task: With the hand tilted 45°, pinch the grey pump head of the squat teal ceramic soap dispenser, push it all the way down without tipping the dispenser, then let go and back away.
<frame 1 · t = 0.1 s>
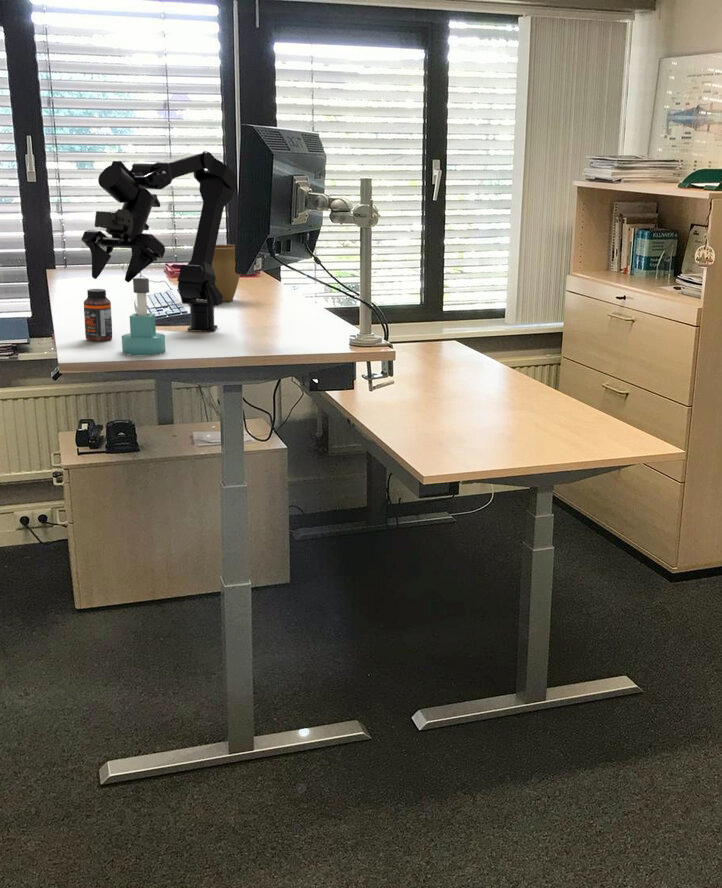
hand: (110, 279, 194), 15 cm above the table, tool tilted 35°, fingers open, 9 cm apart
pump head: (141, 298, 194), point 11 cm above the table, slide at 3.5 cm, touching gripper
supplement bottle: (99, 340, 210), on the table
dispenser: (144, 352, 197), on the table
plant pot: (219, 301, 275), on the table
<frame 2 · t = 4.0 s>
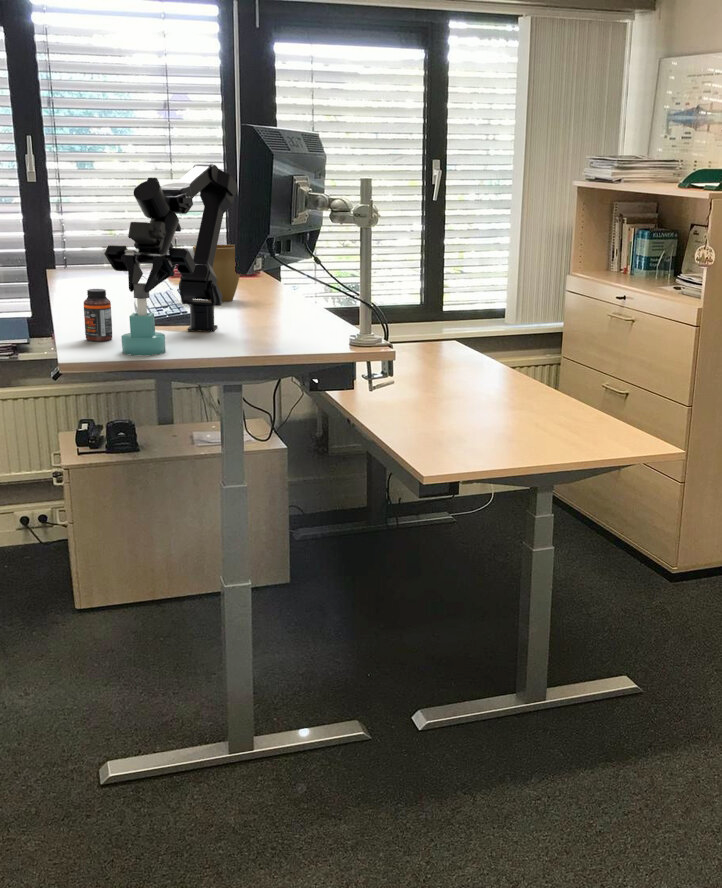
hand: (138, 290, 192), 13 cm above the table, tool tilted 45°, fingers closed on pump head, 3 cm apart
pump head: (141, 303, 194), point 10 cm above the table, slide at 2.4 cm, touching gripper
everything else where it was.
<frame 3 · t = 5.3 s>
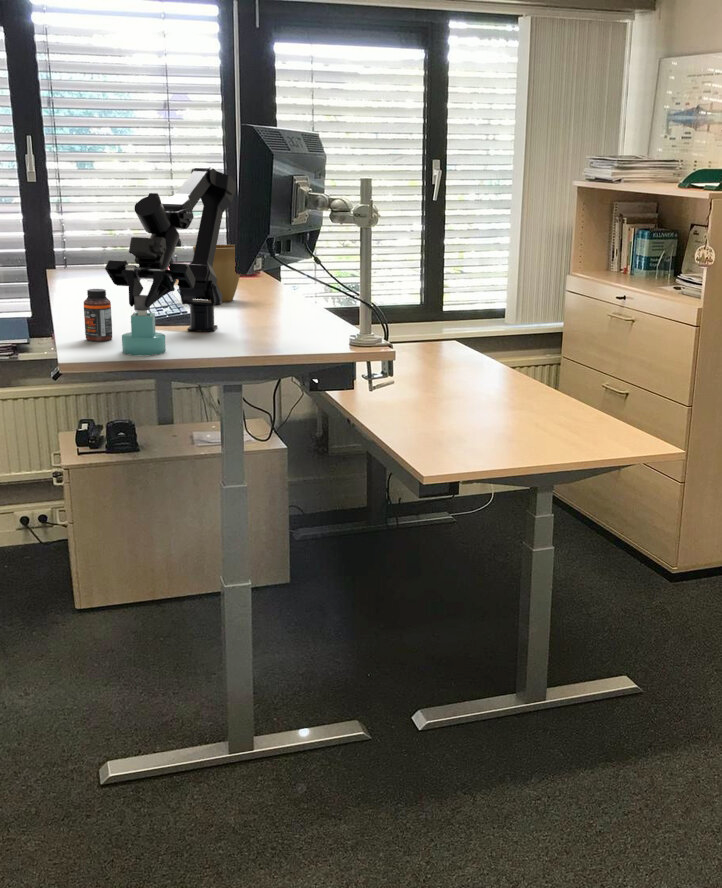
hand: (138, 305, 193), 10 cm above the table, tool tilted 45°, fingers closed on pump head, 3 cm apart
pump head: (142, 315, 195), point 8 cm above the table, slide at -0.1 cm, touching gripper
everything else where it was.
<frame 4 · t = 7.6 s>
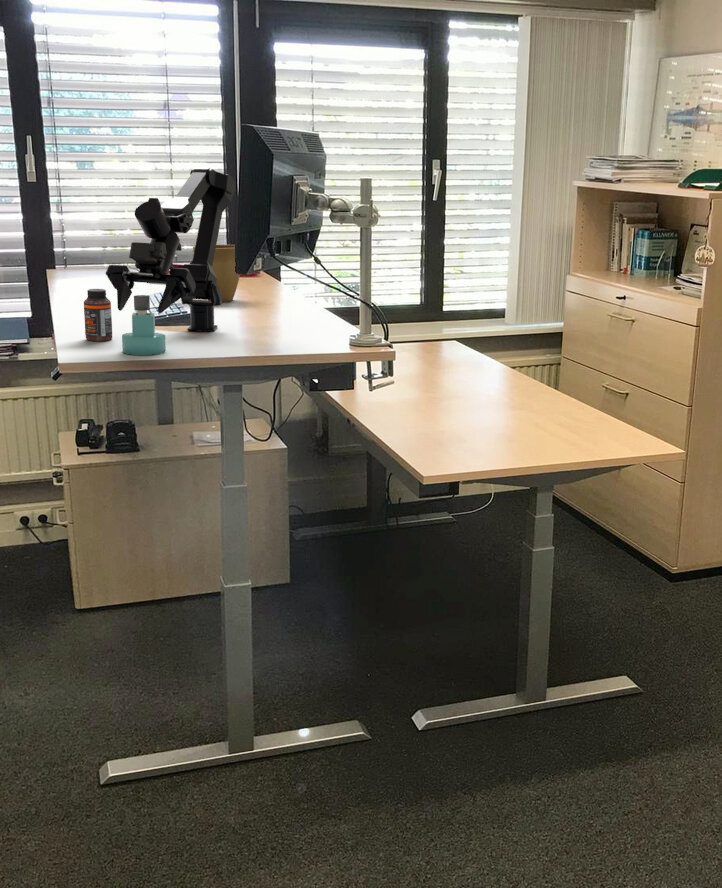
hand: (139, 310, 193), 9 cm above the table, tool tilted 45°, fingers open, 9 cm apart
pump head: (142, 315, 195), point 8 cm above the table, slide at -0.1 cm
everything else where it was.
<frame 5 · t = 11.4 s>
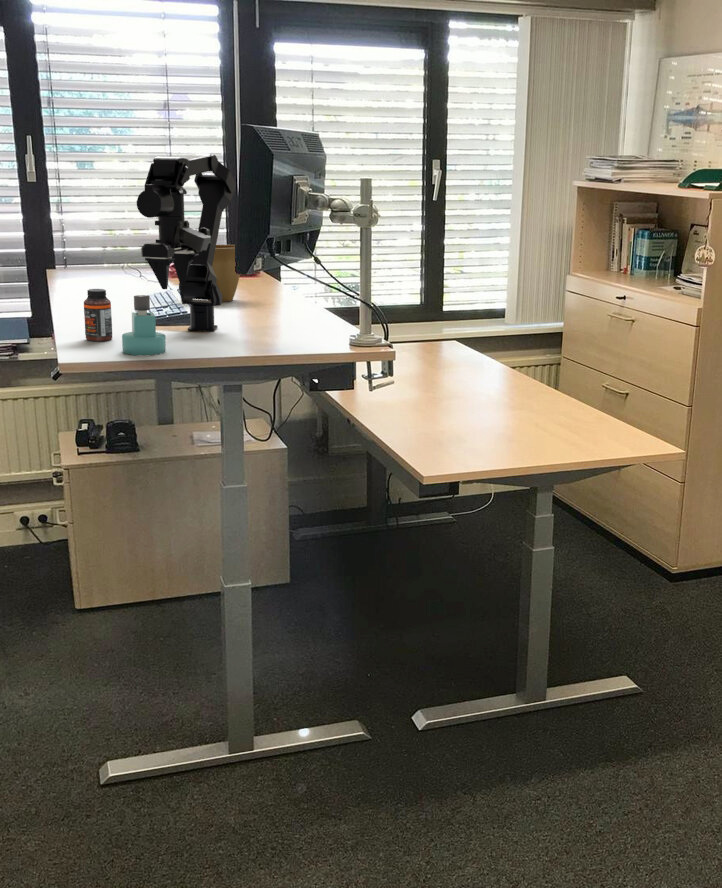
hand: (173, 286, 208), 12 cm above the table, tool pointing down, fingers open, 9 cm apart
nothing on the table moved.
at the end: pump head slide at -0.1 cm; dispenser tilted 2°; the gripper is holding nothing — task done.
